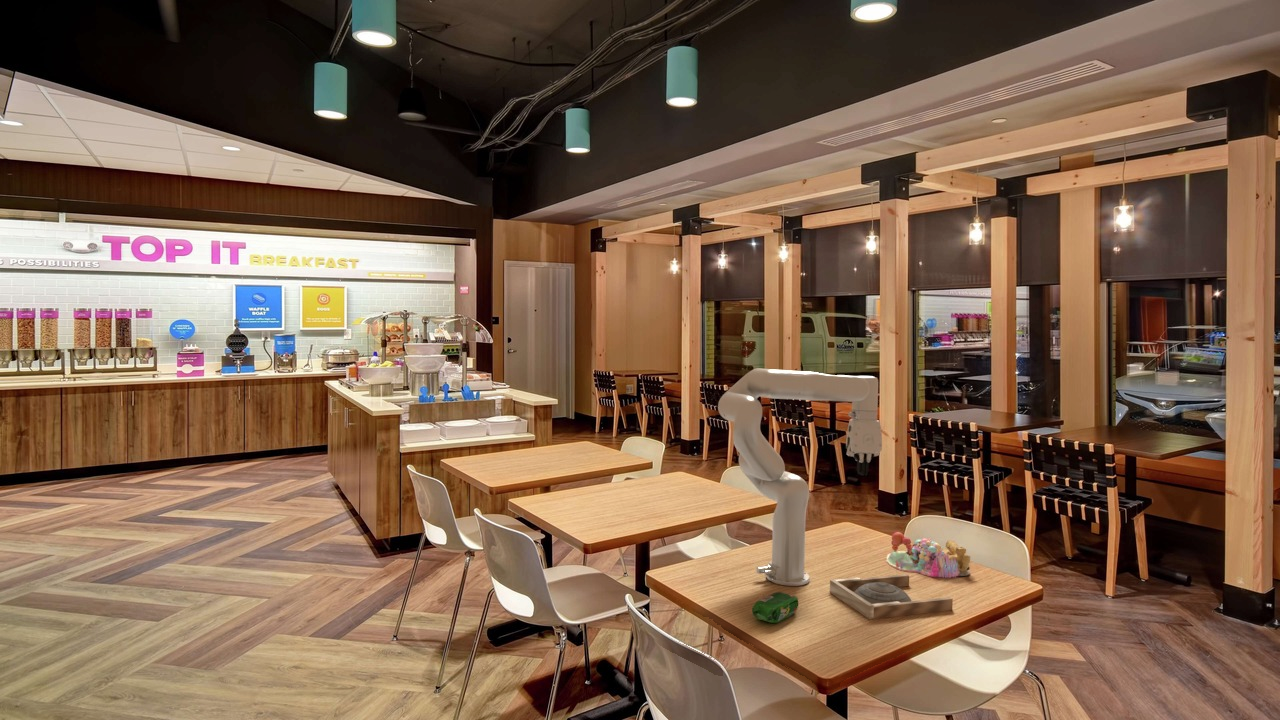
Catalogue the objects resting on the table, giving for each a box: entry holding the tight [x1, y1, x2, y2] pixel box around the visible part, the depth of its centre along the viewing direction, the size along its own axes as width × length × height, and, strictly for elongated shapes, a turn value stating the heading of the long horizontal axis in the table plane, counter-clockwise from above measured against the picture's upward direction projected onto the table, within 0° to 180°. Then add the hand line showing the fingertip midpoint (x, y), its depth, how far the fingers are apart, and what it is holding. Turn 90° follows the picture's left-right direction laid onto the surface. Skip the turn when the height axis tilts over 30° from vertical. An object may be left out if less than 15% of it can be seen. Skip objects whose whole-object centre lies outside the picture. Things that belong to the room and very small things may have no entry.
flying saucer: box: [853, 582, 912, 604], centre depth 191 cm, size 15×15×6 cm
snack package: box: [751, 591, 800, 624], centre depth 180 cm, size 7×16×5 cm, turn 137°
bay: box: [829, 573, 954, 620], centre depth 192 cm, size 25×19×4 cm
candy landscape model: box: [885, 531, 971, 579], centre depth 222 cm, size 25×24×9 cm
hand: (862, 474), depth 216 cm, fingers closed
